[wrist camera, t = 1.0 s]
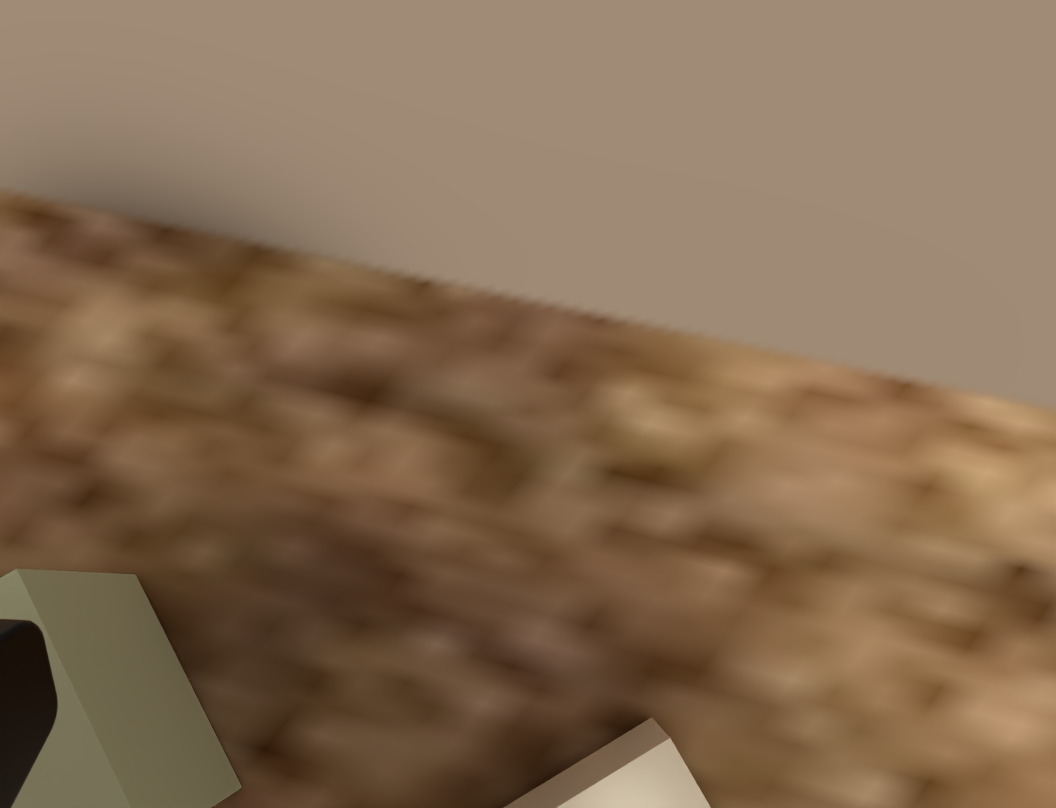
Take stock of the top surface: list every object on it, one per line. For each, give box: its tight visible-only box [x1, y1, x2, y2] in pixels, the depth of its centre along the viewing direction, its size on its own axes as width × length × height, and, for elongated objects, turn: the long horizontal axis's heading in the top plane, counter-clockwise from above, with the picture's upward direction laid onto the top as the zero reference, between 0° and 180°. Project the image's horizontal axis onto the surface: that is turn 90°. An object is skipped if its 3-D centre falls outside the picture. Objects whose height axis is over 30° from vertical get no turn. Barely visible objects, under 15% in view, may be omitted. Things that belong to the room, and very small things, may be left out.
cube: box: [0, 569, 242, 808], centre depth 18 cm, size 5×5×5 cm
